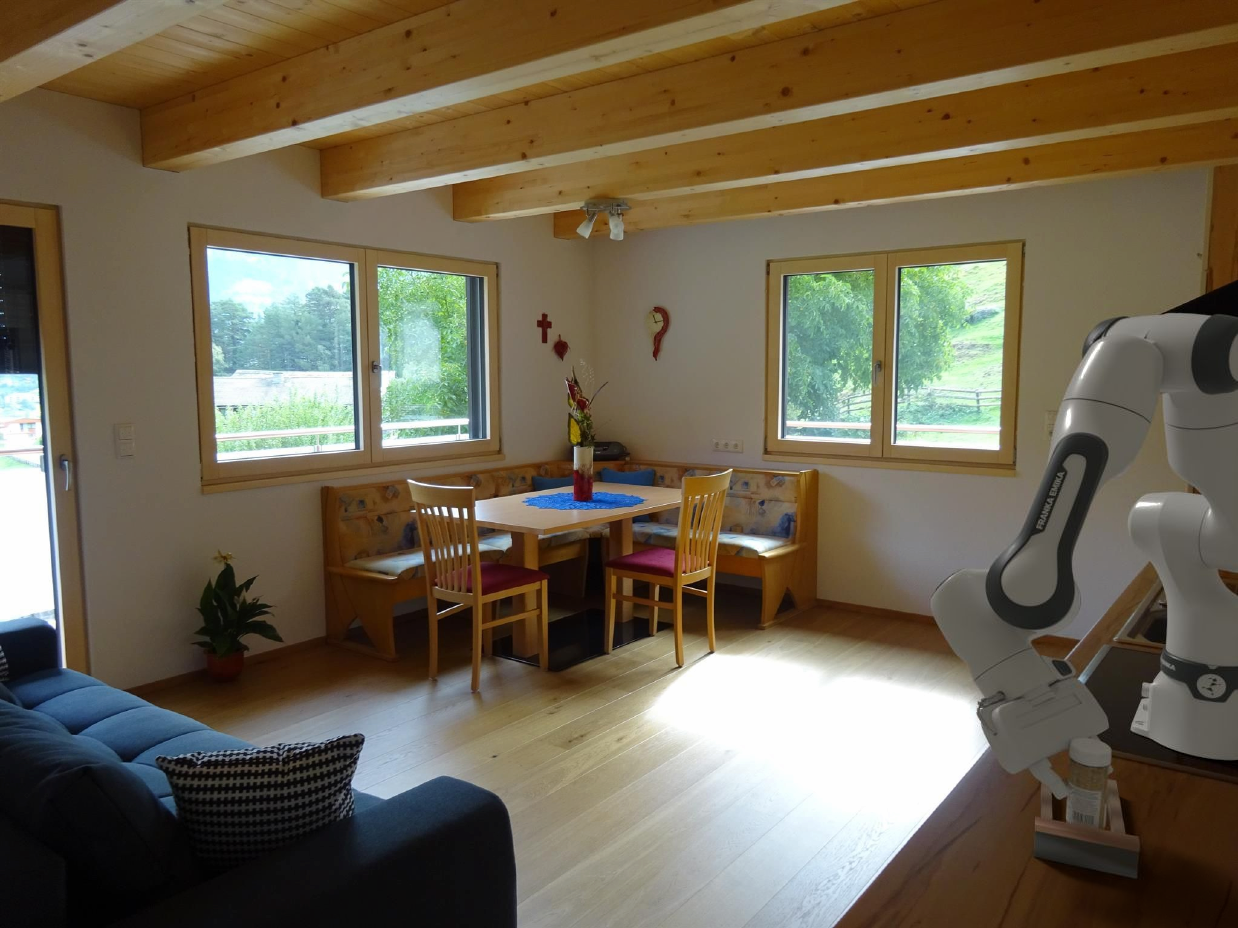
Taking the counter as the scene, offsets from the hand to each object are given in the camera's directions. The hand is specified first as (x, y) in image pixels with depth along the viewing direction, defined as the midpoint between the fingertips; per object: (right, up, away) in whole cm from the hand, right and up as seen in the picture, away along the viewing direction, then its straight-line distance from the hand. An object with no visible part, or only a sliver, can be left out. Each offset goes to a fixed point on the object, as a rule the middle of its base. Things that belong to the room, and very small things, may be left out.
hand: (1087, 785), depth 113 cm
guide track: (+2, -7, +6) cm, 10 cm away
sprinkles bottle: (0, -8, +1) cm, 8 cm away
